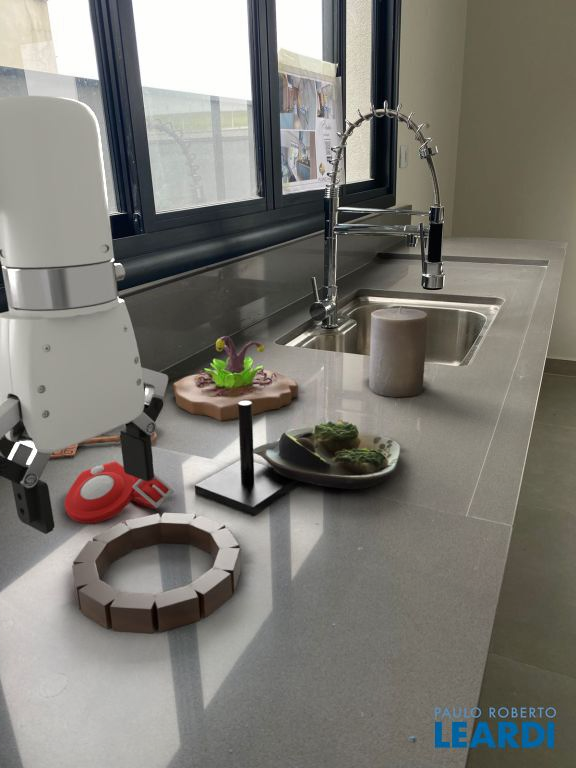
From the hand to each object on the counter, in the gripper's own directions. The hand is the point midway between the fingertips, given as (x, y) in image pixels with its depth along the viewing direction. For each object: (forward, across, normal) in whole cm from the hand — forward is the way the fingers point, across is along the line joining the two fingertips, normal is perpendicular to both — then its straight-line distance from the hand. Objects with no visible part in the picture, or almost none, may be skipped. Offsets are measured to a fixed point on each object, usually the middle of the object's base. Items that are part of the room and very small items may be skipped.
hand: (92, 499), depth 49 cm
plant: (+11, -48, -27) cm, 57 cm away
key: (+11, -22, -29) cm, 39 cm away
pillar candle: (+12, -68, -6) cm, 69 cm away
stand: (+11, -24, -4) cm, 27 cm away
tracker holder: (+11, -12, -14) cm, 22 cm away
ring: (+11, -6, 0) cm, 13 cm away
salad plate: (+11, -35, +1) cm, 37 cm away
